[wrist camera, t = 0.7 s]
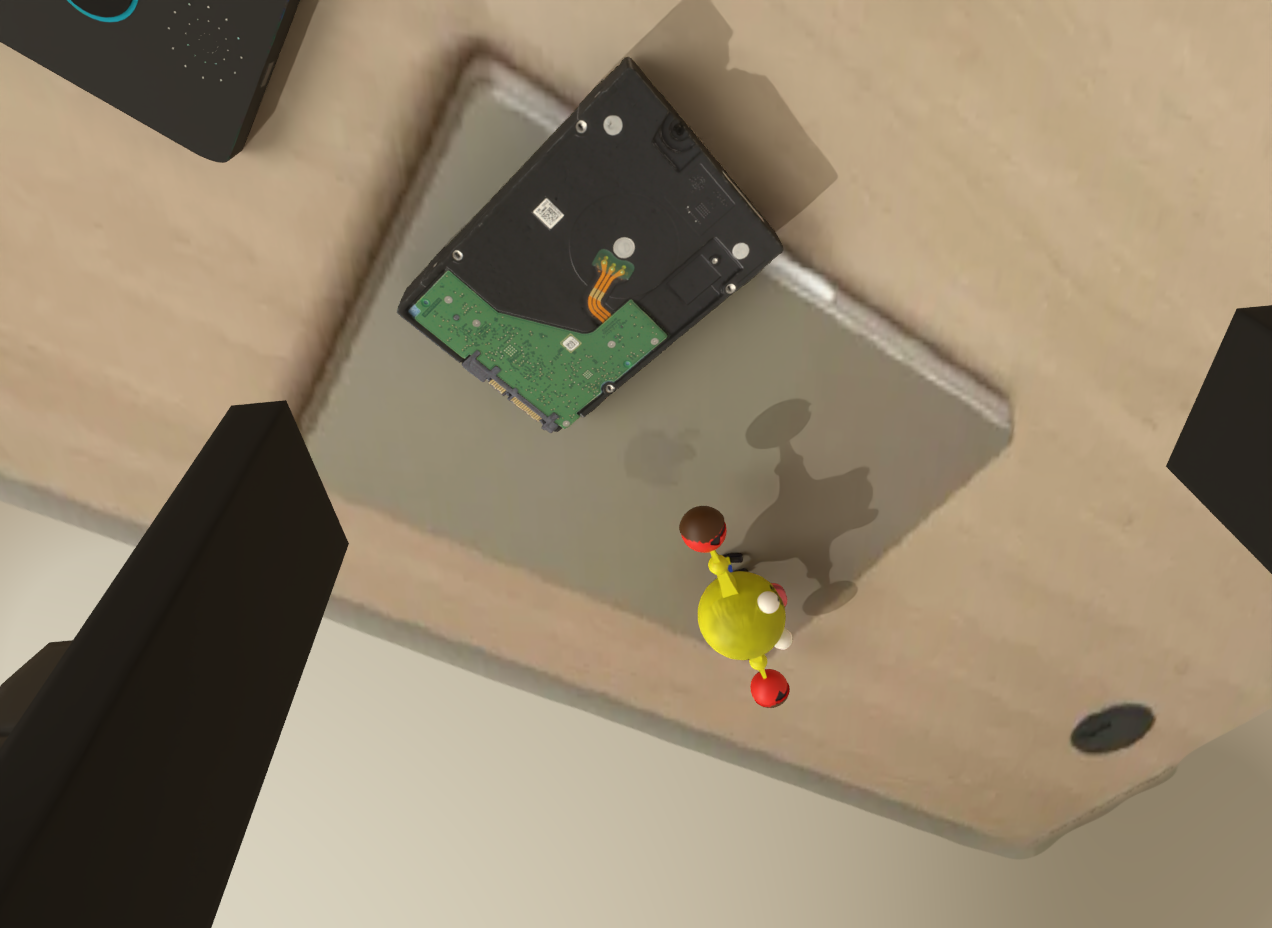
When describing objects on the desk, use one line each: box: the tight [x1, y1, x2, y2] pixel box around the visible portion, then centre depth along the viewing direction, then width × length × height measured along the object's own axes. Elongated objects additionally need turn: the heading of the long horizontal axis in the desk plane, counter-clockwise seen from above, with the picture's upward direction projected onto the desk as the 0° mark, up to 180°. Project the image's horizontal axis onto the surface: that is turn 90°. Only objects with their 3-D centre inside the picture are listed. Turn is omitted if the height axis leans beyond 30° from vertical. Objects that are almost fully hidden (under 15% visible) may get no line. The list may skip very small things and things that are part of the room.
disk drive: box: [397, 57, 783, 433], centre depth 35 cm, size 10×3×15 cm
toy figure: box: [679, 506, 793, 708], centre depth 46 cm, size 18×6×7 cm, turn 20°
